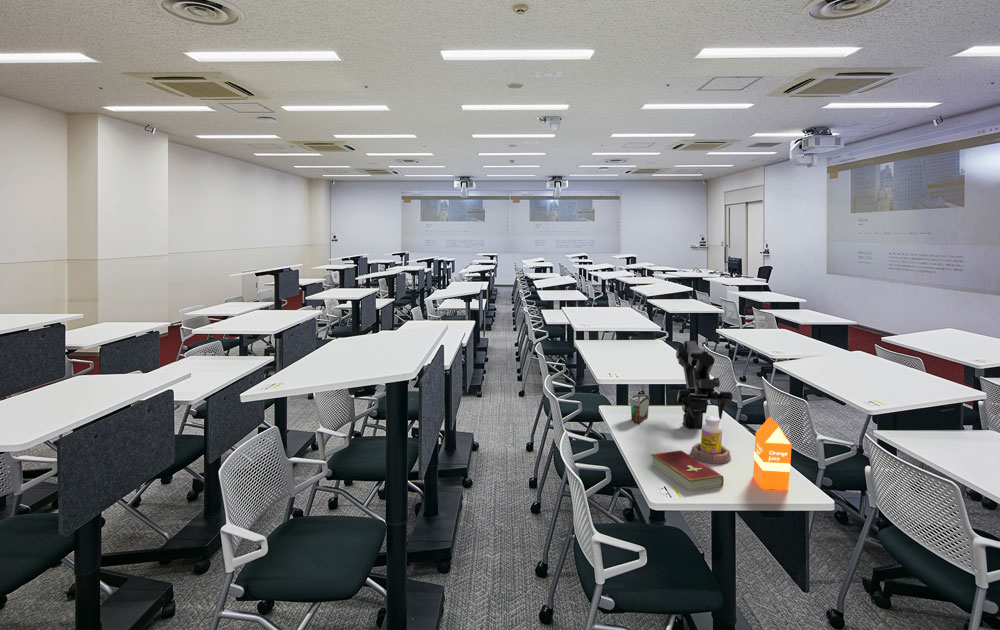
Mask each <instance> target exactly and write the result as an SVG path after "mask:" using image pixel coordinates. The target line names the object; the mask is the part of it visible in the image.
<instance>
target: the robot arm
mask: <svg viewBox="0 0 1000 630" xmlns="http://www.w3.org/2000/svg"><path fill="white" fill-rule="evenodd" d="M675 357H676V360H677V362H678V364H679V365H680V366H681V367H682V369H683V374H684V378H685V379H684V380H685V385H686V389H679V390H678V392H677V394H676V395H677V397H676V401H677V403H678V404H680V405H681V407H682V411H683V413H684V414H683V418H682V419H683V421H682V425H683V426H685V427H686V428H687V429H690V430H692V429H693V430H694V429H702V426H703V421H704V420H703V419H704V414H707V411H708V406H709V402H708V401H717V403H718V404H717V412H718V418H719V419H720V420H722V417H723V413H724V408H725V407H727V406H730V405H731V403H732V401H733V399H734V395H733V393H732V391H728V390H727V391H726V390H724V391H723V390H721V391H719V394H713V393H714V392H715V388H719V387H720V386H721V384H720V383H721V381H720V378H719V377H714V378H710V377H711V376H710V373H711V372H712V369H713V367H714V364H715V358H714V357H713V355H711V354H710V353H709V351H707V350H702V349H701V348H700V347H699V345H698V342H697V341H695V340H684V341H683V343H682V344H681V345H678V346H677V349H676V353H675Z"/></svg>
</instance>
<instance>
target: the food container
mask: <svg viewBox="0 0 1000 630" xmlns="http://www.w3.org/2000/svg"><path fill="white" fill-rule="evenodd" d="M650 398H651V397H650V394H643V393H640V394H633V395H631V396H630V398H629V404H630V410H631V411H630V413H631V422H632V421H633V422H632V423H634V424H636V423H637V424H636V425H641V424H642V423H643V422H645V421H646V420H647V419H648V417H649V407H650V405H649V404H650ZM644 420H645V421H644ZM640 423H641V424H640Z"/></svg>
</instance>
